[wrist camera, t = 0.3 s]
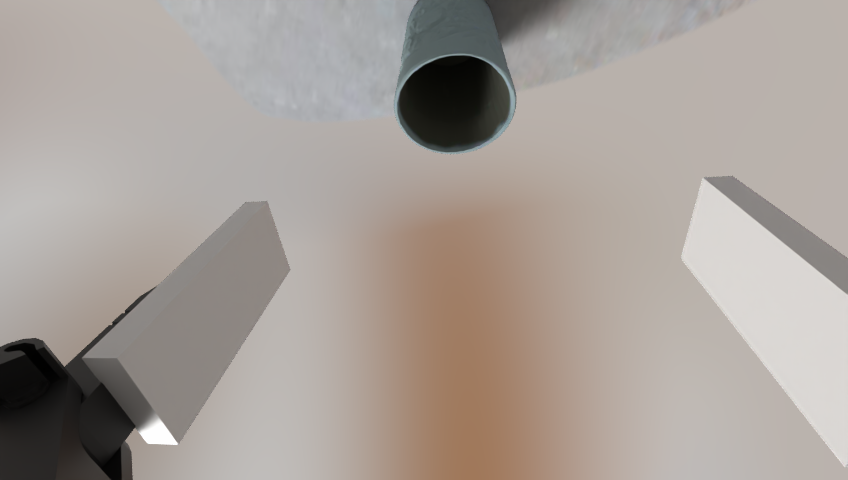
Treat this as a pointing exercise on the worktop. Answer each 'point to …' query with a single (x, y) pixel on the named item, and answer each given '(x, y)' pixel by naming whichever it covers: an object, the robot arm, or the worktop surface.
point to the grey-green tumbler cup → (453, 78)
